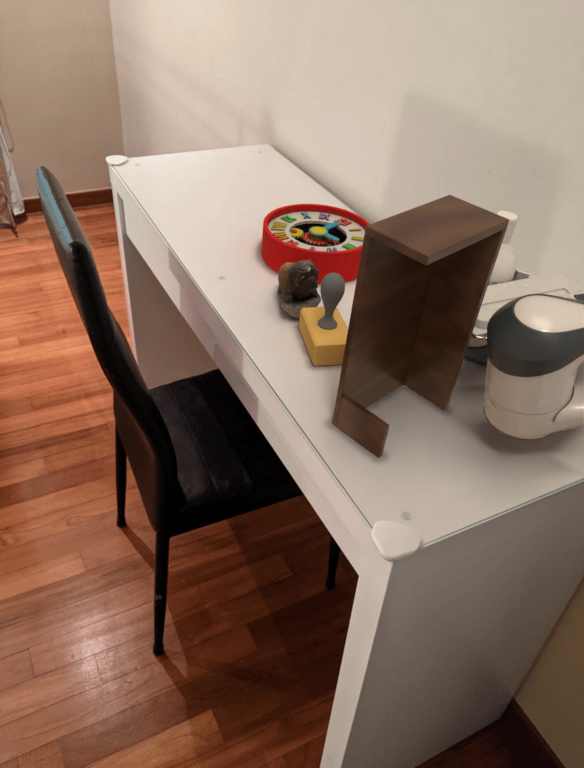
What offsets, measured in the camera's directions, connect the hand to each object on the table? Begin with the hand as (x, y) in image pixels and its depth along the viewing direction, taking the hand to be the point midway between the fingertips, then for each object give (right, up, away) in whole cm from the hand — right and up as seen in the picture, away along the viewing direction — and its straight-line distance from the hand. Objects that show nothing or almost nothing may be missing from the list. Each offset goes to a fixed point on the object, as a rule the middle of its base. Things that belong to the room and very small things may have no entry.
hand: (481, 275), depth 89 cm
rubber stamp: (-23, -10, +2) cm, 25 cm away
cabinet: (-15, -20, -9) cm, 27 cm away
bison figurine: (-27, -3, +10) cm, 29 cm away
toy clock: (-23, +7, +23) cm, 34 cm away
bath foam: (0, -8, +6) cm, 11 cm away
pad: (-1, -9, +6) cm, 11 cm away
